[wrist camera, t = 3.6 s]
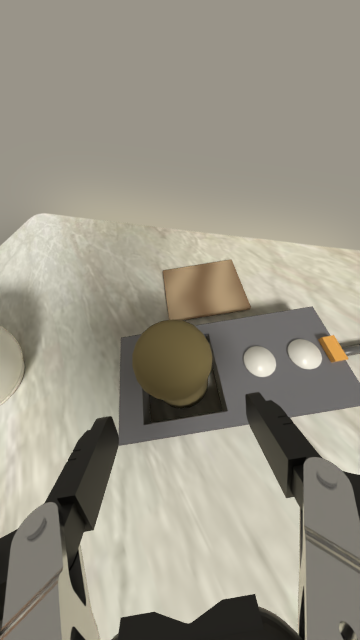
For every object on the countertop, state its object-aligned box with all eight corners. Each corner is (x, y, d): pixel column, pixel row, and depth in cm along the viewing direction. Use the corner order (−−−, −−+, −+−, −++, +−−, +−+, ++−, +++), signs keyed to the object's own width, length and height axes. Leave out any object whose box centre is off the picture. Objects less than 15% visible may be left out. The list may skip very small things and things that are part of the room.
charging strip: (351, 310, 22) (378, 293, 19) (412, 393, 17) (462, 389, 14) (130, 346, 22) (118, 335, 18) (130, 439, 17) (115, 447, 14)
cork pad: (230, 262, 27) (231, 259, 27) (249, 309, 23) (250, 307, 22) (163, 273, 27) (162, 270, 27) (169, 322, 23) (169, 320, 22)
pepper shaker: (157, 353, 21) (126, 306, 11) (206, 353, 20) (218, 304, 11) (153, 407, 18) (106, 407, 8) (209, 409, 18) (228, 411, 8)
